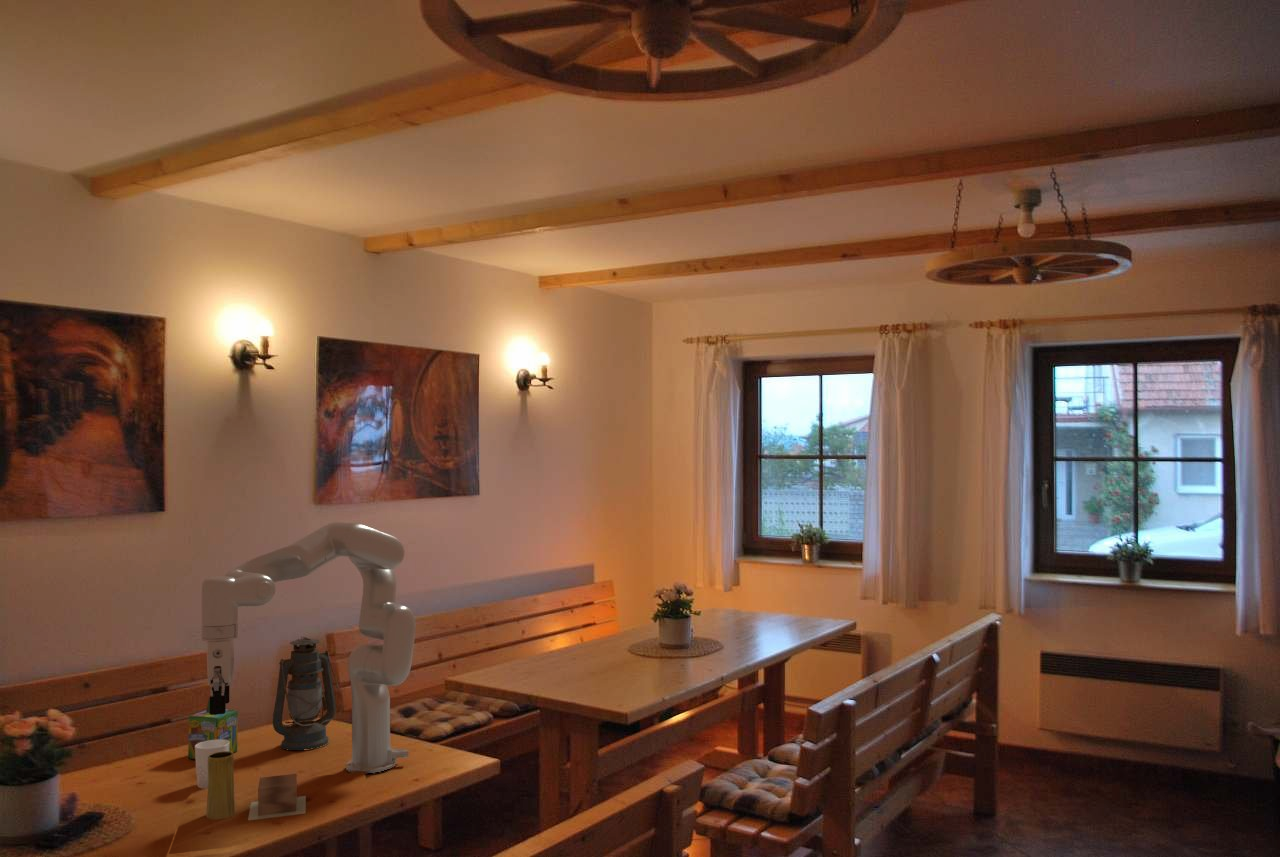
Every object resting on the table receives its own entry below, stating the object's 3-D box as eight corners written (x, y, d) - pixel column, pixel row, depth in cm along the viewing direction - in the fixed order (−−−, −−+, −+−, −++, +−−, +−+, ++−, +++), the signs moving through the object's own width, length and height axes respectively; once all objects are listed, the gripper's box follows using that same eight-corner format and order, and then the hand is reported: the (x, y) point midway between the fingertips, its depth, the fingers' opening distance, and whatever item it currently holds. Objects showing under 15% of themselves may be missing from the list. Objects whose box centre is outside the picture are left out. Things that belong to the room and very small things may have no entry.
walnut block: (296, 799, 229) (296, 773, 229) (296, 811, 221) (296, 784, 221) (259, 803, 226) (259, 777, 226) (258, 815, 219) (258, 788, 219)
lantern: (323, 732, 288) (322, 629, 289) (351, 741, 279) (350, 635, 280) (260, 748, 273) (260, 640, 274) (288, 758, 264) (288, 646, 265)
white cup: (216, 790, 239) (216, 749, 239) (187, 789, 240) (187, 747, 240) (236, 780, 246) (236, 740, 247) (208, 778, 248) (208, 738, 248)
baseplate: (305, 800, 231) (305, 795, 231) (305, 817, 220) (305, 813, 220) (251, 806, 228) (251, 802, 228) (247, 824, 216) (247, 820, 216)
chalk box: (187, 759, 264) (187, 704, 264) (209, 749, 273) (209, 695, 273) (217, 761, 262) (217, 705, 262) (238, 751, 271) (238, 697, 271)
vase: (211, 814, 223) (211, 751, 223) (239, 813, 223) (239, 750, 224) (201, 824, 217) (201, 759, 217) (230, 823, 217) (230, 758, 217)
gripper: (234, 637, 214) (234, 716, 214) (240, 625, 231) (240, 698, 230) (197, 640, 212) (196, 720, 211) (205, 627, 228) (205, 701, 228)
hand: (219, 708), depth 221 cm, fingers open, 9 cm apart
